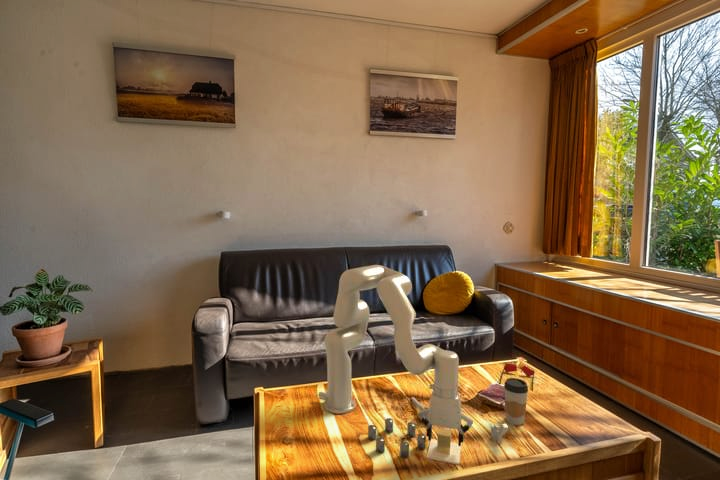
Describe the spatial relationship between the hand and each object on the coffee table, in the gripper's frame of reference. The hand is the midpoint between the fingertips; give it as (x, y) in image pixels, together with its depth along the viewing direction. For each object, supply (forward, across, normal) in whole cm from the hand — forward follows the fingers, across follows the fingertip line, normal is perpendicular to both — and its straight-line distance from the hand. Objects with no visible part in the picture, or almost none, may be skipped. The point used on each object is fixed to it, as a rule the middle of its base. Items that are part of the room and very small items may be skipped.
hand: (444, 441), depth 128 cm
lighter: (+4, +17, +11) cm, 21 cm away
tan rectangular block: (+3, 0, 0) cm, 3 cm away
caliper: (+4, -12, +23) cm, 27 cm away
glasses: (+4, +26, +64) cm, 69 cm away
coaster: (+4, 0, 0) cm, 4 cm away
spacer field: (+4, -16, 0) cm, 16 cm away
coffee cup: (+4, +23, +27) cm, 36 cm away
